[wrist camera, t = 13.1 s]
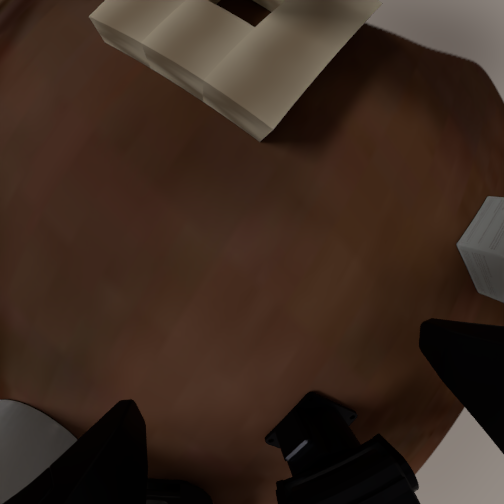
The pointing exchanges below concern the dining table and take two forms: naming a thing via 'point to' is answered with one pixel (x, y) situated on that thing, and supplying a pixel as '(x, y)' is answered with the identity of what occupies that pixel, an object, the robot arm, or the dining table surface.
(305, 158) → the dining table surface
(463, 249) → the supplement box
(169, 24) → the square hole wooden block
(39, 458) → the utensil holder
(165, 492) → the end cap
